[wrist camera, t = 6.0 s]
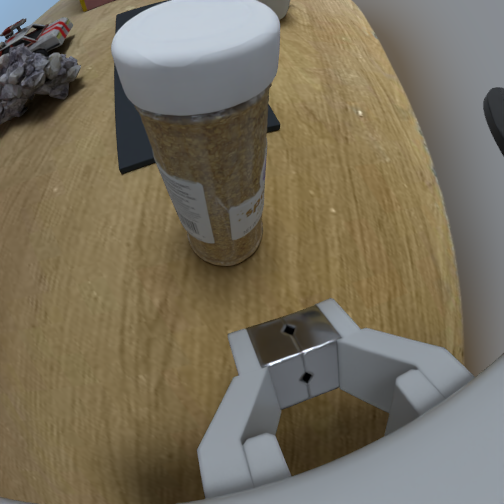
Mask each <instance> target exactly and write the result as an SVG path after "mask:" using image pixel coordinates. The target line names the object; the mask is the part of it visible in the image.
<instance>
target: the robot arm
mask: <svg viewBox="0 0 504 504" xmlns="http://www.w3.org/2000/svg"><path fill="white" fill-rule="evenodd" d="M228 340H229V343H230V347H231V350H232V354H233V357H234V360H235V364H236V367H237V371H238V374H239V376H236V377H233V379H232V381H231V383H230V385H229V387H228V389H227V391H226V393H225V396H224V398H223V400H222V402H221V404H220V406H219V408H218V410H217V412H216V414H215V416H214V418H213V420H212V422H211V423H210V425H209V427H208V429H207V431H206V433H205V435H204V437H203V439H202V441H201V443H200V445H199V447H198V449H197V453H198V459H199V466H200V472H201V477H202V483H203V489H204V494H205V499H203V500H197V501H191V502H184V503H177V504H504V353H503V354H502V355H501V356H500V357H499V358H498V359H497V360H495V361H494V362H493V363H492V364H491V365H490V366H488V367H487V368H486V369H485V370H484V371H482V372H481V373H480V374H479V375H477V376H476V377H474V376H473V375H472V374H471V373H470V372H469V371H468V370H467V369H466V368H465V367H464V366H463V365H462V364H461V363H460V362H459V361H458V360H457V359H456V358H455V357H454V356H453V355H452V354H451V353H450V352H449V351H447V350H446V349H445V348H443V347H439V346H435V345H431V344H427V343H423V342H419V341H415V340H411V339H407V338H403V337H399V336H395V335H392V334H388V333H384V332H380V331H377V330H373V329H369V328H364V329H362V330H361V329H360V328H359V327H358V325H357V324H356V323H355V322H354V321H353V320H352V319H351V318H350V317H349V315H348V314H347V313H346V312H345V311H344V310H343V309H342V308H341V307H340V305H339V304H338V303H337V302H336V301H335V300H334V299H332V298H330V299H327V300H325V301H322V302H320V303H317V304H315V305H314V306H311V307H308V308H306V309H303V310H300V311H297V312H295V313H292V314H289V315H286V316H283V317H280V318H277V319H274V320H270V321H267V322H264V323H261V324H258V325H254V326H251V327H248V328H246V329H242V330H239V331H235V332H232V333H229V334H228ZM339 387H340V389H341V390H343V391H345V392H347V393H349V394H351V395H353V396H355V397H357V398H359V399H361V400H363V401H365V402H367V403H369V404H371V405H373V406H375V407H377V408H379V409H381V410H383V411H386V412H388V413H389V418H388V422H387V426H386V431H385V436H384V437H382V438H380V439H378V440H376V441H374V442H373V443H371V444H369V445H366V446H364V447H362V448H360V449H358V450H356V451H354V452H352V453H350V454H347V455H345V456H343V457H341V458H338V459H336V460H334V461H331V462H329V463H326V464H324V465H321V466H319V467H316V468H314V469H311V470H308V471H306V472H303V473H300V474H297V475H295V476H291V474H290V471H289V469H288V466H287V464H286V461H285V459H284V457H283V454H282V452H281V449H280V447H279V444H278V441H277V439H276V436H275V435H276V431H277V427H278V423H279V419H280V415H281V410H283V409H285V408H288V407H291V406H293V405H296V404H298V403H301V402H303V401H306V400H308V399H311V398H313V397H316V396H319V395H321V394H324V393H327V392H329V391H332V390H334V389H337V388H339ZM0 504H37V503H30V502H24V501H18V500H13V499H8V498H3V497H0Z"/></svg>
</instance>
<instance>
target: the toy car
mask: <svg viewBox="0 0 504 504" xmlns="http://www.w3.org/2000/svg"><path fill="white" fill-rule="evenodd" d="M25 22H26V19H22V20H20V21H19V22H17V23H15V24H13V25H12V26H10V27H8V28H7V29H5V30H4V32H2V34H1V35H0V36H5V38H6V39H7V40H5V42H1V43H0V57H1V56H2V55H4V54H7V53H9V49H10V48H11V47H16V46H18V45H20V44H23V43H24V46H25V47H26V46H27V48H28V49H29V50H30V51H31V52H32V53H40V54H41V55H43V56H44V57H49V56H50V55H49V51H50V50H52V49H54V48H56V47H58V46H61V45H62V43H63V42H64V40H65V38H66V36H67V35H68V33H69V31H70V30H71V28H72V27H73V24H72V23H71V22H70V21H69V19H68V18H64V17H62V18H60V19H59V20H57V21H55V22H53V23H51V24H49V25H48V24H47V25H39V24H31V25H30V26H28V27H26V28H23V29H21V28H20V26H21V25H22V24H24V23H25ZM32 27H33V28H36V30H35V31H33V32H31V33H29V34H27V35H25V34H26V33H27V32H28V31H29V29H30V28H32ZM14 29H17V30H18V32H17V33H15V34H13V30H14ZM9 36H10V37H9Z"/></svg>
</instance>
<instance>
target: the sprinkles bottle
mask: <svg viewBox="0 0 504 504" xmlns="http://www.w3.org/2000/svg"><path fill="white" fill-rule="evenodd" d="M279 47H280V21H279V19H278V16H277V15H276V13H275V12H274V11H273V10H272V9H271V8H269V7H268V6H266V5H265V4H263V3H261V2H259V1H256V0H171V1H167V2H164V3H161V4H159V5H156V6H153V7H151V8H149V9H147V10H145V11H143V12H141V13H139V14H138V15H136V16H134V17H133V18H131V19H130V20H129V21H127V22H126V23H125V24H124V25H123V26H122V27H121V28H120V29H119V30H118V32H117V33H116V35H115V37H114V39H113V41H112V47H111V50H112V56H113V59H114V62H115V66H116V69H117V72H118V75H119V78H120V81H121V84H122V87H123V89H124V92H125V94H126V96H127V98H128V99H129V100H130V101H131V102H132V103H133V104H134V106H135V108H136V110H137V111H138V112H139V114H140V116H141V119H142V123H143V125H144V127H145V130H146V133H147V136H148V139H149V141H150V144H151V146H152V151H153V156H154V159H155V162H156V164H157V167H158V169H159V171H160V174H161V176H162V178H163V181H164V183H165V186H166V188H167V191H168V193H169V195H170V198H171V200H172V202H173V205H174V207H175V209H176V212H177V214H178V217H179V219H180V221H181V223H182V225H183V227H184V228H185V229H186V230H187V235H188V239H189V243H190V245H191V247H192V249H193V251H194V252H195V253H196V254H197V255H198V256H199V257H200V258H201V259H203V260H204V261H206V262H209V263H211V264H214V265H221V266H231V265H234V264H238V263H240V262H242V261H244V260H245V259H246V258H248V257H249V256H251V255H252V254H253V253H254V252H255V250H256V249H257V247H258V246H259V244H260V241H261V238H262V234H263V227H262V225H263V224H262V211H263V206H264V188H265V170H266V156H267V138H266V133H267V118H268V117H267V116H268V101H269V88H270V87H271V85H272V84H271V82H272V81H273V79H274V77H275V76H276V73H277V69H278V59H279Z"/></svg>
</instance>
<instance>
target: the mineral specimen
mask: <svg viewBox="0 0 504 504" xmlns="http://www.w3.org/2000/svg"><path fill="white" fill-rule="evenodd" d="M65 56H66V55H63V54H59V53H53V54H51V55H50V56H49V57H44V56H43V55H41V54H40V53H32V52H31V51H30V50H29V49H28V48H27V46H26V47H25V46H24V43H23V44H20V45H18V46H16V47H11V48H10V49H9V53H7V54H4V55H2V56H1V57H0V125H1V124H2V123H4V122H6V121H10V120H11V119H12V118H14V117H20V116H22V115H23V114H24V113H25V112H26V111H27V109H28V107H25V103H26V101H27V99H30V100H32V99H33V98H34V95H35V94H49V96H51V97H55V98H58V99H63V100H64V99H65V98H66V97H67V96H68V89H69V82H71V81H74V80H75V78H76V77H77V75H78V73H79V71H80V68H81V65H78V63H77V60H76V59H75V58H73V57H71V56H70V57H69V58H66V57H65Z"/></svg>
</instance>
